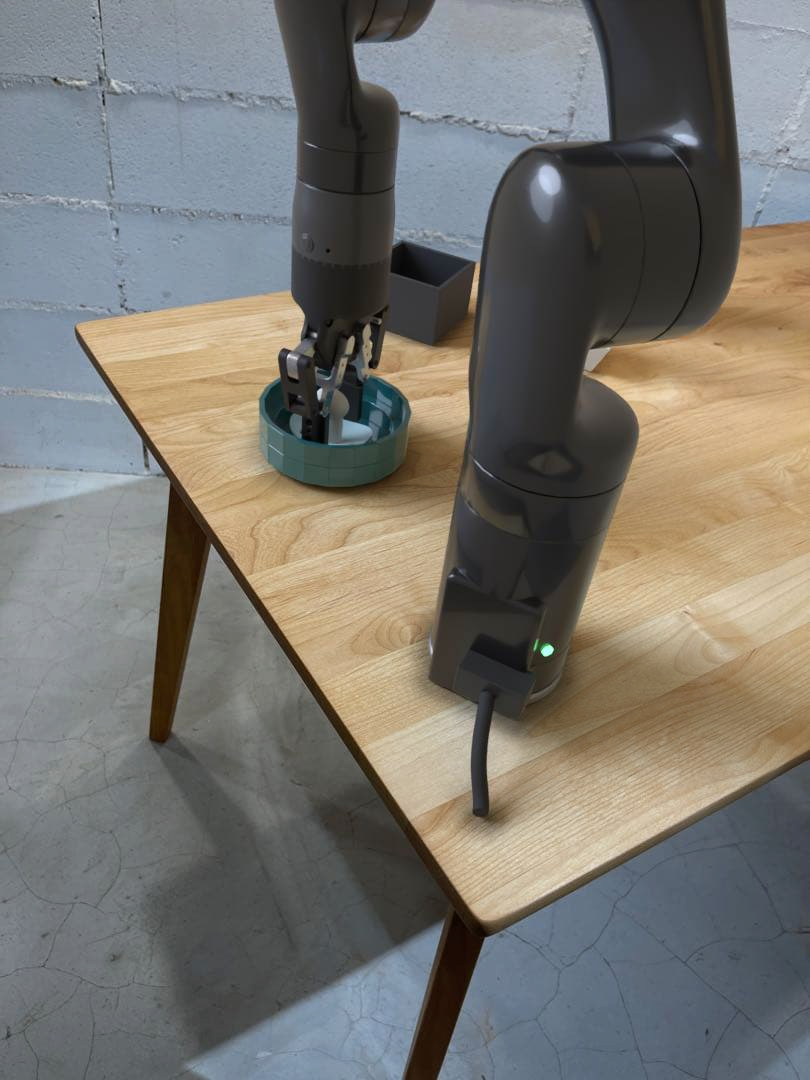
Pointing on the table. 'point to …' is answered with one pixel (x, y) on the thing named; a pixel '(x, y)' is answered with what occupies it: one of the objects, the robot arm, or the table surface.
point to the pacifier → (337, 424)
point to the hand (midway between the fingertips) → (332, 432)
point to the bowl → (338, 462)
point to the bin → (427, 292)
